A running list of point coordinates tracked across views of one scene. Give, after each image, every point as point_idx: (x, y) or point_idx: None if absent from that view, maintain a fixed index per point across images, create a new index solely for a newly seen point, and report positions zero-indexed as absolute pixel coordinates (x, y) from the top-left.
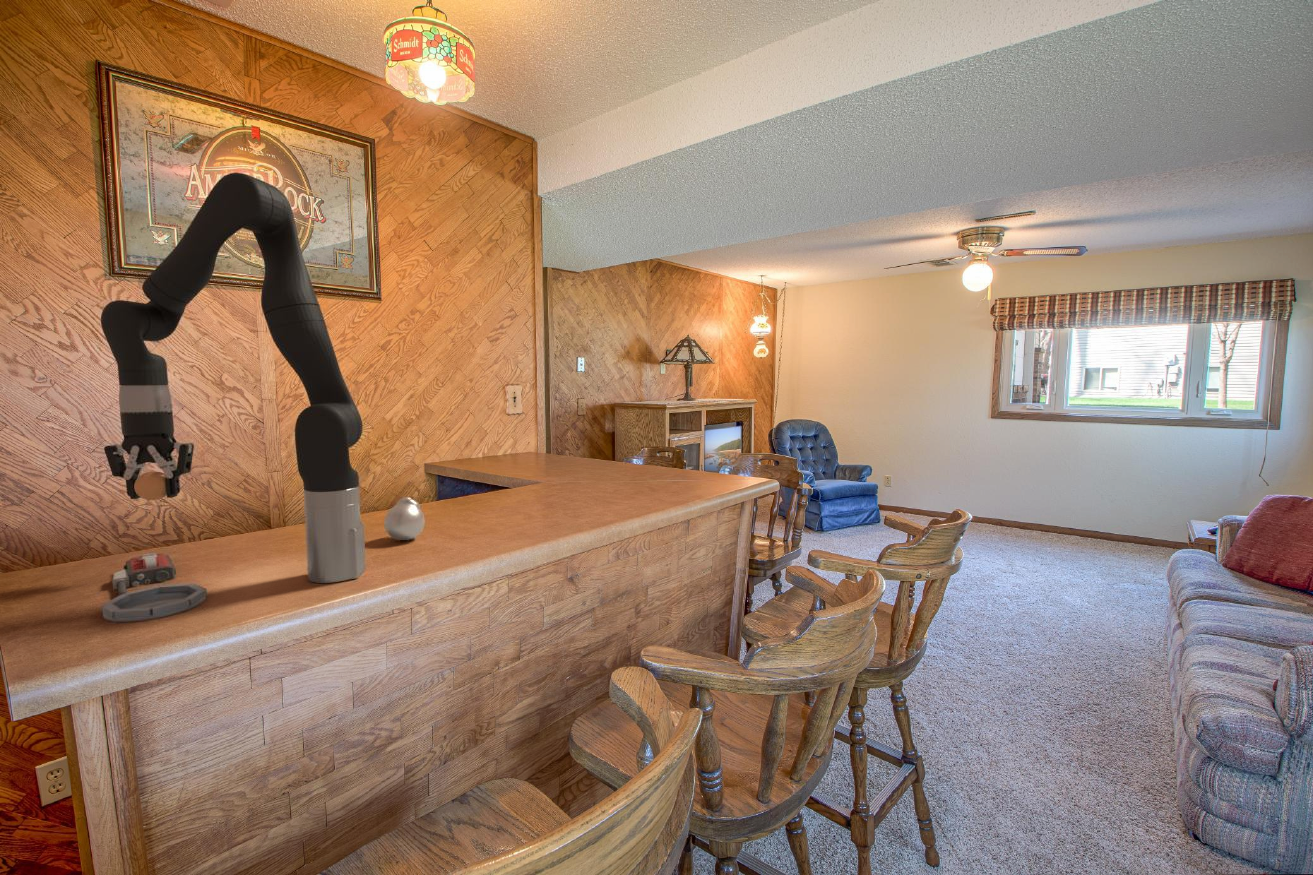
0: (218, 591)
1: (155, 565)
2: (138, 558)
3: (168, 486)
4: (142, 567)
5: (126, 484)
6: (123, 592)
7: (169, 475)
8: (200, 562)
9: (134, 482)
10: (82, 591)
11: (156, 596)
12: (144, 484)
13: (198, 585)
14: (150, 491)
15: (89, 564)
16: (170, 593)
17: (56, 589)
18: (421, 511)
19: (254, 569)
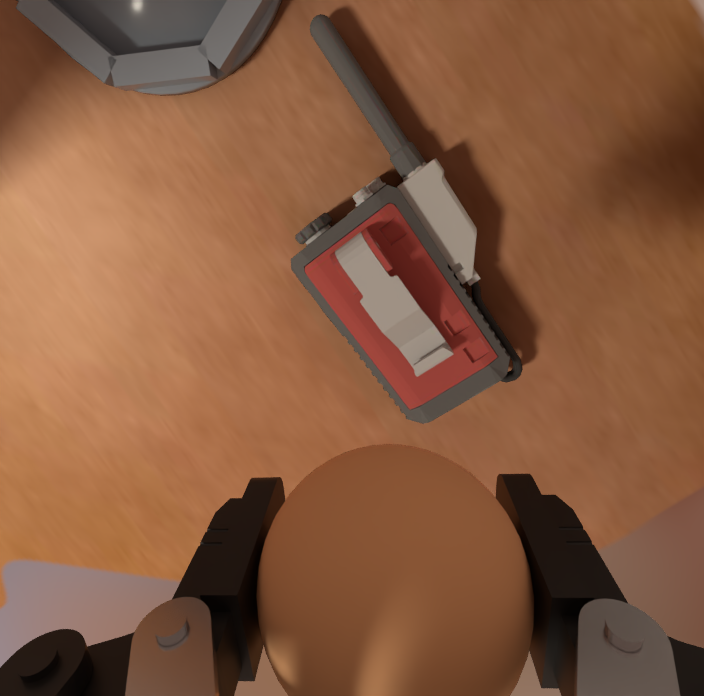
0: (55, 94)
1: (338, 248)
2: (472, 366)
3: (236, 534)
4: (383, 245)
5: (608, 575)
6: (313, 18)
7: (163, 618)
8: (329, 425)
9: (539, 589)
10: (528, 147)
11: (192, 5)
12: (383, 498)
13: (74, 55)
14: (344, 459)
15: (682, 452)
16: (168, 40)
17: (635, 182)
18: None
19: (107, 329)
